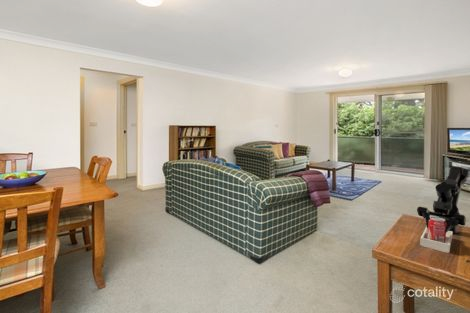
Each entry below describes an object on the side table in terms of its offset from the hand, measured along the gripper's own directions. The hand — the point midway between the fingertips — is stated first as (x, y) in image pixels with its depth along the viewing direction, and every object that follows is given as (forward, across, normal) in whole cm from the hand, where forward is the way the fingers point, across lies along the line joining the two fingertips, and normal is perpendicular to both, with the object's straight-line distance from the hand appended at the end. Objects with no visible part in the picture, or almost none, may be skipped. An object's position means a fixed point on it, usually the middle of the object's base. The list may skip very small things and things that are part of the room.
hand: (436, 230), depth 124 cm
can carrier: (+2, -1, +10) cm, 10 cm away
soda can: (+4, 0, +6) cm, 7 cm away
